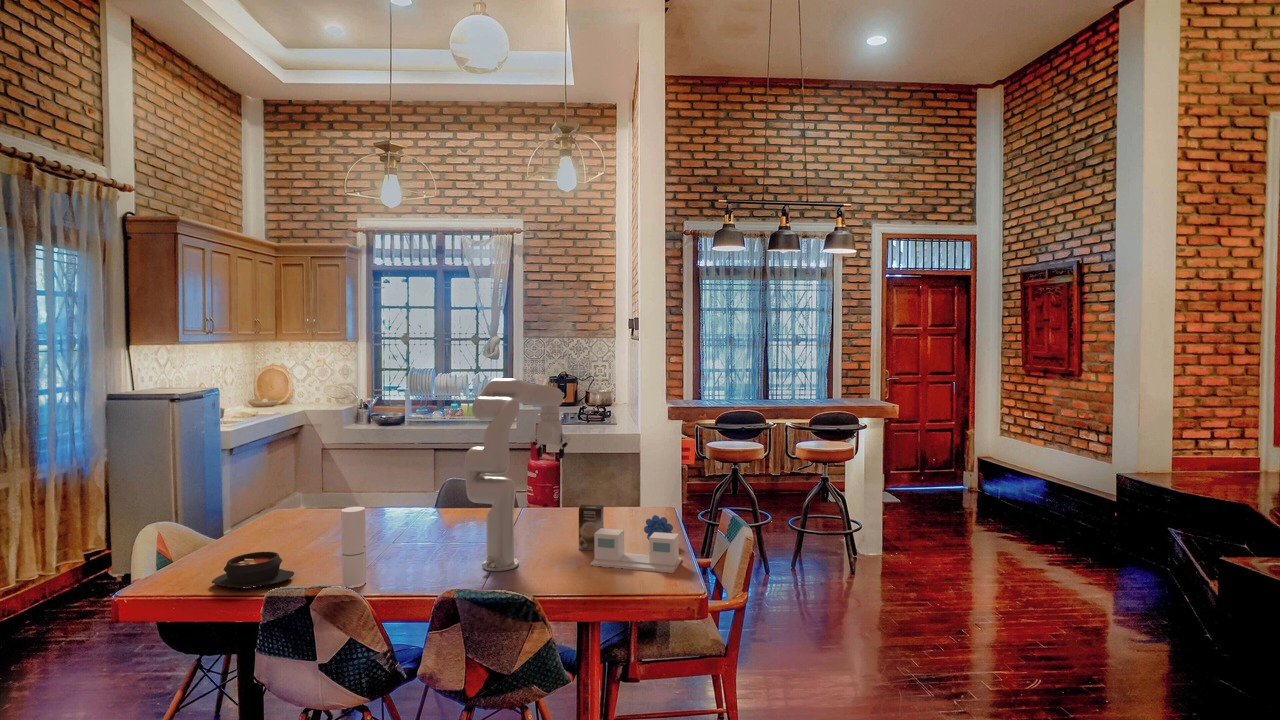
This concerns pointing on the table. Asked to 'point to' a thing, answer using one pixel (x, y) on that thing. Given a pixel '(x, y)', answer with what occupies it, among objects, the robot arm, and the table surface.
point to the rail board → (613, 555)
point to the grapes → (657, 526)
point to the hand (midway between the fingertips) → (550, 457)
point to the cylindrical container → (353, 546)
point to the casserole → (253, 570)
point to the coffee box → (589, 525)
